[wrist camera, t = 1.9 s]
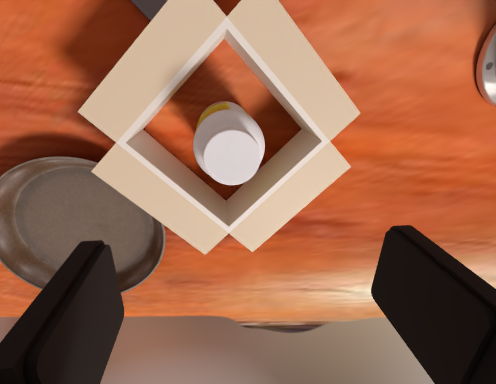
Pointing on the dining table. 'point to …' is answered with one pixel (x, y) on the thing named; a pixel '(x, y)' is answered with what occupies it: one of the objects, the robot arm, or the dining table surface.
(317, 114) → the carton
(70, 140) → the dining table surface
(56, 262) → the plant saucer
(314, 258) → the dining table surface
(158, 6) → the coaster mat
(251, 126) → the supplement bottle
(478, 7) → the dining table surface
